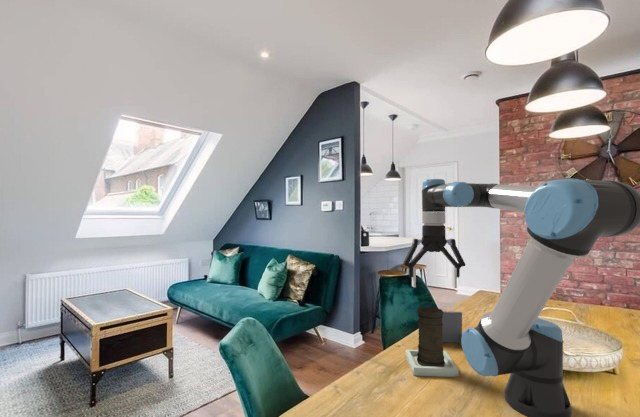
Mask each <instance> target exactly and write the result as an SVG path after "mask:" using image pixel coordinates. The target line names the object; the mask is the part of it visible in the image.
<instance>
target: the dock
mask: <svg viewBox="0 0 640 417" xmlns="http://www.w3.org/2000/svg"><path fill="white" fill-rule="evenodd" d="M442 311H443V310H442ZM442 316H443V318H442V323H443V325H442V332H443V334H442V338H443V343H455V344H457V343H459V345H460V346H461V347H462V343H461V338H462V334H463V312H462V311H449V310H448V311H447V310H446V311H443V315H442Z"/></svg>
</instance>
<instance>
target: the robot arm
mask: <svg viewBox="0 0 640 417" xmlns="http://www.w3.org/2000/svg"><path fill="white" fill-rule="evenodd" d="M421 185H422V188H421V206H422V208H421V209H422V214H421V215H422V216H421V222H422V224H423V225H422V229H421V230H422V231H421V234H422V237H421V239H418V238H412V245H411V246H410V248H409V250H408V252H407V255H406V257H405V258H404V259H403V263H402V264H403V266H406V267H408V276H409V278H411V287H413V288H416V287H417V284H416V283H417V277H416V276H417V271H416V270H417V269H416V267H415V266H416V265H417V264H418V263H419V261H420V260H421V259H422V258H423V256H424V255H425V254H427V253H435V252H436V253H442V254H443V255H444V257H445V258H446V259H447V260H448V261H449V262H450V263H451V265H452V267H451V287H452V288H454V289H458V283H457V282H458V281H457V280H458V279H459V278H460V270H461V268H462V267H465V266H466V263H465V261H464V258H463V257H462V255H461V253H460V250H459V249H458V247H457V245H456V239H455V238H449V239H447V238H446V225H444V224H446V208H474V207H475V208H477V207H478V208H489V209H490V208H491V209H497V210H498V209H499V210H506V211H511V212H519V213H523V214H525V217H524V221H525V225H526V226H527V227H526V234H527V235H528V237H529V241H528V242H527V245H526V246H525V247H524V251H523V252H522V255H521V256H520V258H519V260H518V262H517V264H516V266H515V268H514V270H513V271H512V272H511V273H512V274H511V275H510V277H509V279H508V281H507V283H506V285H505V286H504V289H503V291H502V293H501V295H500V297H499V298H498V300H497V302H496V304H495V306H494V308H493V310H492V311H488V312H486V313H485V312H484V314H483V315H482V316H481V317H480V320H479V322H478V324H477V325H476V326H475V327H472V326H471V327H469V328H466V329H465V330H463V331H462V338H461V343H462V346H461V348H462V352H463V355H464V357H465V360H466V362H467V363H468V365H469V366H470V367H471V369H472V370H473V371H474V372H475V373H476V374H478V375H480V376H483V377H498V376H501V375H502V376H503V375H508V374H509V377H508V380H507V382H506V383H505V384H506V385H505V388H504V400H505V402H506V403H507V404H508V406H510V407H511V408H512V409H513V410H515V411H517V412H519V413H521V414H522V415H525V416H527V417H572V404H571V401H570V398H569V396H568V393H567V390H566V387H565V384H564V378H563V377H564V375H563V374H564V368H563V367H564V339H563V331H562V328H561V327H560V326H559V325H558V324H556V323H554V322H552V321H549V320H546V319H542V318H539V316H540V315H541V313H542V312H543V310H544V308H546V307H545V306H546V305H547V303H548V302H549V300H550V298H551V297H552V295H553V294H554V292H555V291H556V289H557V287H558V285H559V284H560V282H561V281H562V279H563V278H564V276H565V274H566V273H567V271H568V270H569V268H570V266H571V265H572V263H573V261H574V260H575V259H576V258H585V257H587V256H588V255H589V253H590V252H591V250H592V248H593V247H594V245H595V244H596V243H597V241H598V239H599V238H608V237H609V238H611V237H613V238H614V237H619V236H622V235H626V234H628V233H630V232H632V231H633V230H635V229H636V228H637V227H639V226H640V192H639V191H638V190H637V189H636V188H634V187H633V186H632V185H629V184H627V183H626V182H625V183H624V182H621V181H616V180H597V179H596V180H595V179H580V178H562V179H554V180H550V181H547V182H544V183H542V184H540V185H539V186H538V185H522V184H521V185H518V184H515V185H514V184H499V183H475V182H474V183H470V182H469V183H468V182H465V181H454V182H449V183H448V182H447V183H446V181H445V179H442V178H429V179H424V180H423V181H422V184H421ZM420 244H421V245H422V247H421V249H420V250H419V251H418V253H417V254H415V252H416V250H417V248H418V246H419V245H420ZM447 244H448V246H449V247H450V248H451V251H452V252H453V255H454V256H455V258H454V257H453V256H452V255H451V253H450V252H449V251H448V250H447V249H446V247H445V246H446V245H447ZM414 254H415V256H414ZM413 256H414V257H413ZM455 259H456V260H455Z"/></svg>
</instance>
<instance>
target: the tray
mask: <svg viewBox="0 0 640 417" xmlns="http://www.w3.org/2000/svg"><path fill="white" fill-rule="evenodd" d="M417 354H418V349H406V348H405V358H406V361H407V363H408V366H409V368H410V370H411V372H412V375H413V376H418V377H419V376H420V377H442V378H443V377H447V378H459V373H460V372H459V367H458V366H457V365H456V364H455V362H454V361H453V359H452V358H451V357H450V355H449V353H447V351H446V350H443V356H444V361H445V365H444V367H431V366H421V365H420V364H419V363H418V362H417V357H418V356H417Z"/></svg>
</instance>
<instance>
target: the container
mask: <svg viewBox="0 0 640 417" xmlns="http://www.w3.org/2000/svg"><path fill="white" fill-rule="evenodd" d="M417 315H418V322H417V324H418V345H417V347H418V349H417V350H418V354H417V356H418V357H417V362H418V363H419V364H420V365H421V366H431V367H444V365H445V361H444V356H443V351H444V345H443V344H444V342H443V338H442V334H443V332H442V325H443V323H442V318H443V316H442V315H443V310H442V309H441V308H438V307H433V306H431V307H430V306H423V307H421V306H420V307H418V308H417Z"/></svg>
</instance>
